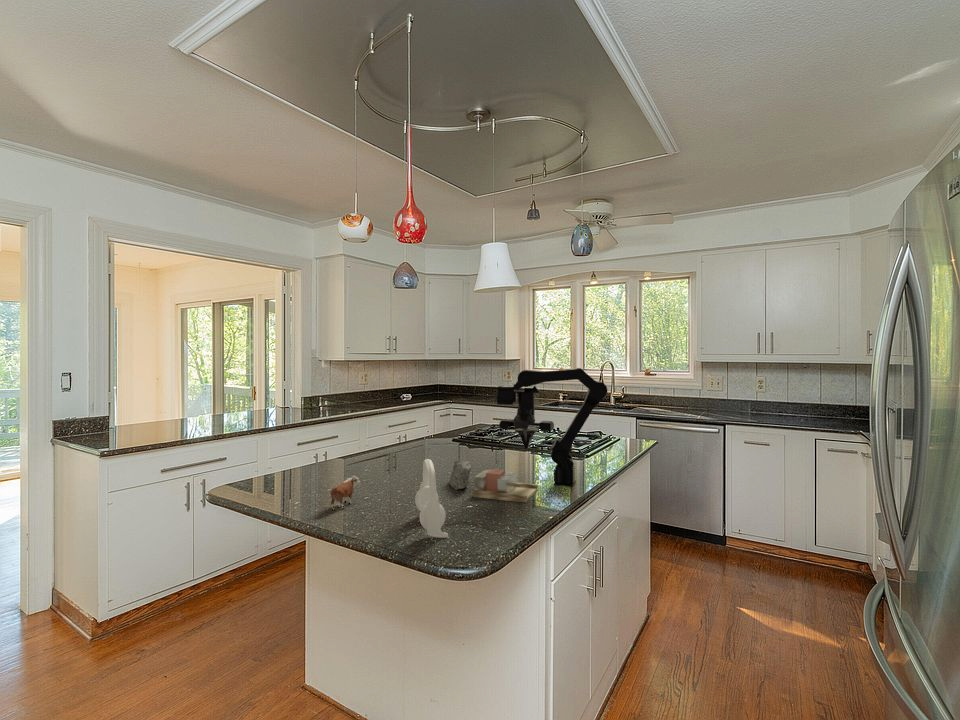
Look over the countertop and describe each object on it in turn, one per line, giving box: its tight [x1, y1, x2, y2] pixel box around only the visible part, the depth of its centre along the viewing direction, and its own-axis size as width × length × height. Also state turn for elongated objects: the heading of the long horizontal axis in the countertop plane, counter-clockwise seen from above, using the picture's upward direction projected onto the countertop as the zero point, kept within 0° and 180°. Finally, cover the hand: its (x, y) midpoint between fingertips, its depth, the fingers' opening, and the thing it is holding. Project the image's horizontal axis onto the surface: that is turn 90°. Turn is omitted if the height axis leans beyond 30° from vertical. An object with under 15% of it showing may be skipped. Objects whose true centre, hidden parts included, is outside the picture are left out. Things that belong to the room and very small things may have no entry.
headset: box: [414, 458, 449, 539], centre depth 136 cm, size 20×7×18 cm, turn 12°
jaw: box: [498, 471, 517, 493], centre depth 165 cm, size 3×10×5 cm, turn 159°
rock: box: [449, 459, 472, 491], centre depth 175 cm, size 15×8×10 cm, turn 178°
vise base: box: [471, 469, 539, 503], centre depth 165 cm, size 18×14×6 cm
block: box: [486, 468, 506, 492], centre depth 166 cm, size 5×5×6 cm
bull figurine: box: [330, 475, 361, 508], centre depth 155 cm, size 4×13×8 cm, turn 161°
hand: (526, 449), depth 178 cm, fingers closed
